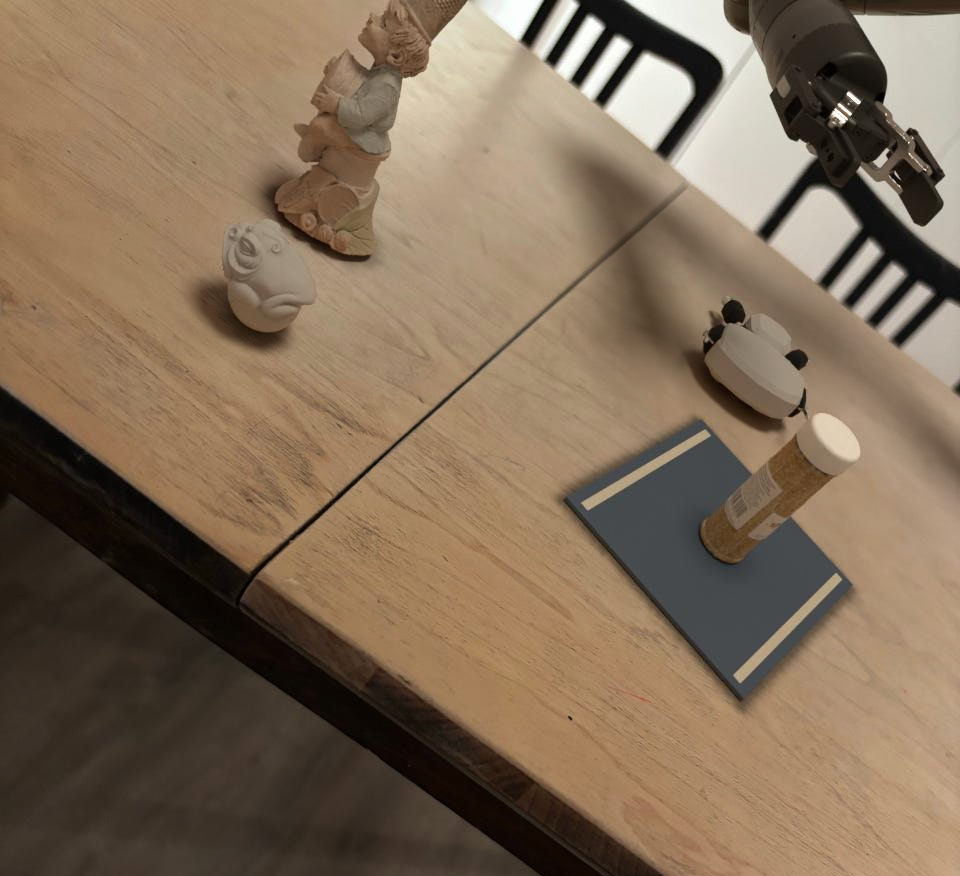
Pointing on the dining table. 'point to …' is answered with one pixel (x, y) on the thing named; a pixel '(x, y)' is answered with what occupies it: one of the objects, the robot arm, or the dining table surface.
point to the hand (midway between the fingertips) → (890, 196)
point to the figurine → (359, 125)
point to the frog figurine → (265, 275)
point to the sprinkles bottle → (780, 487)
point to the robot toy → (756, 362)
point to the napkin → (709, 556)
